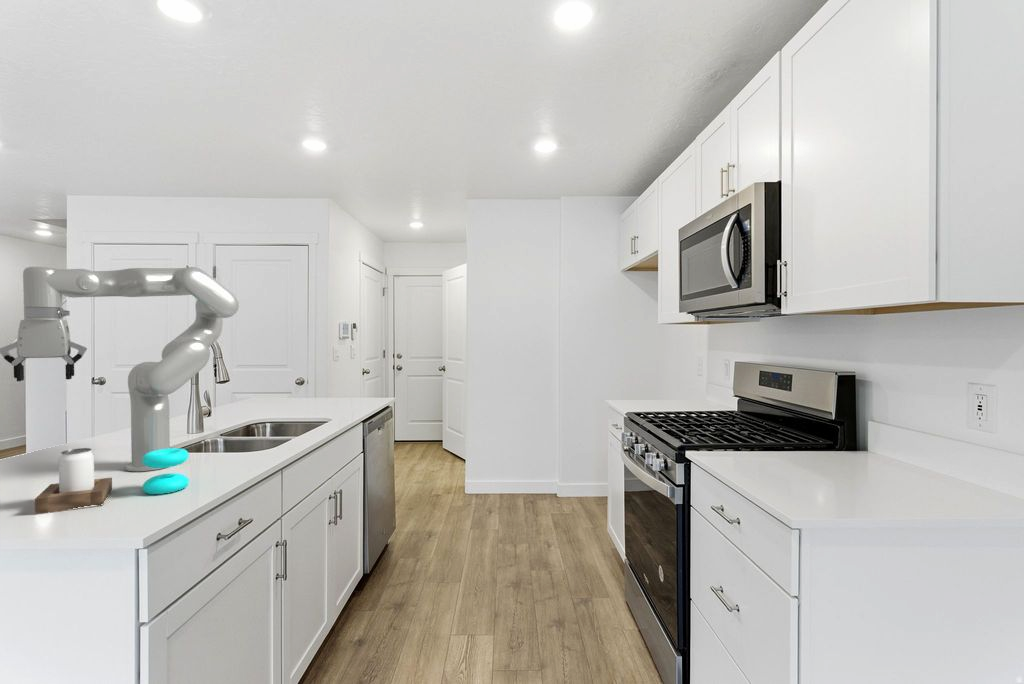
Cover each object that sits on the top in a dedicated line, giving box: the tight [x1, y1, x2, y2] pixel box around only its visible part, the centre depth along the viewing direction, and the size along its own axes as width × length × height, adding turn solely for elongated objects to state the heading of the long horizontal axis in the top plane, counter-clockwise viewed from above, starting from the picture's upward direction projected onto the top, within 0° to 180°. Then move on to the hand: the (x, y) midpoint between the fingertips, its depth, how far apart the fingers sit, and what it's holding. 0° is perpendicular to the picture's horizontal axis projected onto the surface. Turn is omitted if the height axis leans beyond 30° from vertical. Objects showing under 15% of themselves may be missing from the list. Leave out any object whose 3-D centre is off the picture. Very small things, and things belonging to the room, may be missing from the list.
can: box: [58, 447, 95, 493], centre depth 125 cm, size 6×6×12 cm
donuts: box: [142, 447, 190, 495], centre depth 134 cm, size 10×10×10 cm
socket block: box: [34, 477, 113, 515], centre depth 124 cm, size 12×13×4 cm
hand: (45, 379), depth 136 cm, fingers open, 9 cm apart
